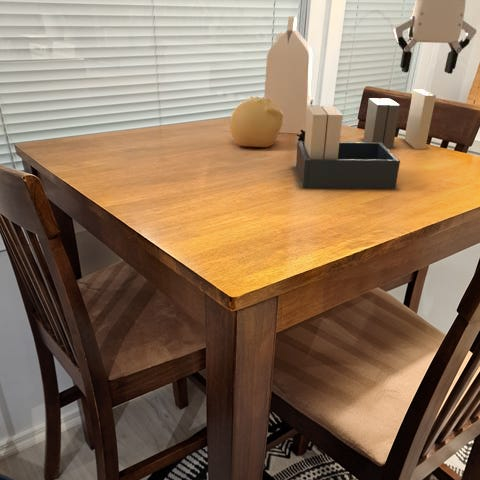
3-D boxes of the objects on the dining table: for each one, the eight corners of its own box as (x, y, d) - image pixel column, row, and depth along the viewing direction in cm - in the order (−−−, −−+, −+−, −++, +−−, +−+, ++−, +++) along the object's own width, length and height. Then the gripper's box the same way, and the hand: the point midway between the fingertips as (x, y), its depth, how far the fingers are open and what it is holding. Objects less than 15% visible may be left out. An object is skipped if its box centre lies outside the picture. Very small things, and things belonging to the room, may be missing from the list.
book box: (377, 171, 101) (381, 142, 98) (394, 193, 89) (400, 160, 86) (295, 171, 101) (297, 141, 98) (302, 192, 89) (304, 159, 86)
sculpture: (288, 149, 116) (291, 99, 110) (240, 153, 112) (240, 102, 106) (268, 138, 125) (270, 91, 119) (223, 142, 121) (223, 94, 115)
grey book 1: (372, 142, 122) (379, 98, 117) (381, 151, 115) (388, 105, 109) (362, 142, 122) (368, 98, 117) (370, 151, 115) (377, 104, 109)
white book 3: (413, 142, 122) (423, 89, 116) (424, 151, 115) (436, 95, 108) (403, 142, 122) (413, 89, 116) (414, 151, 115) (425, 95, 108)
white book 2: (327, 170, 98) (334, 105, 92) (334, 184, 91) (342, 114, 84) (315, 170, 98) (321, 105, 92) (321, 184, 91) (328, 114, 84)
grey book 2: (383, 142, 122) (390, 98, 117) (392, 151, 115) (400, 105, 109) (373, 142, 122) (379, 98, 117) (382, 151, 115) (389, 105, 109)
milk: (305, 134, 129) (314, 17, 115) (262, 131, 131) (265, 16, 117) (309, 124, 139) (318, 16, 125) (269, 122, 141) (273, 15, 127)
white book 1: (314, 170, 98) (320, 105, 92) (320, 184, 91) (327, 114, 84) (302, 170, 98) (307, 105, 92) (307, 184, 91) (313, 114, 84)
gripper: (480, -20, 104) (458, 71, 113) (398, -22, 104) (383, 69, 113) (495, -21, 98) (471, 75, 107) (408, -23, 97) (391, 73, 107)
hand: (426, 72), depth 110 cm, fingers open, 9 cm apart
